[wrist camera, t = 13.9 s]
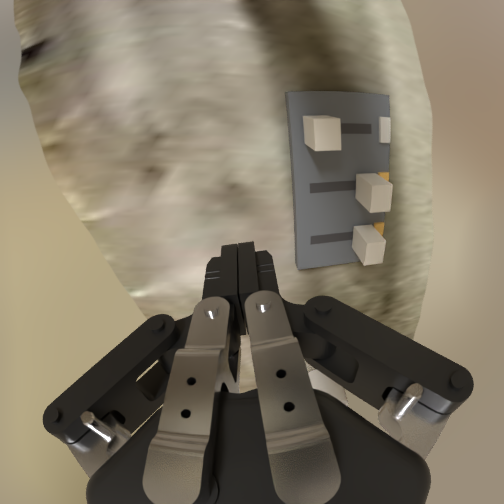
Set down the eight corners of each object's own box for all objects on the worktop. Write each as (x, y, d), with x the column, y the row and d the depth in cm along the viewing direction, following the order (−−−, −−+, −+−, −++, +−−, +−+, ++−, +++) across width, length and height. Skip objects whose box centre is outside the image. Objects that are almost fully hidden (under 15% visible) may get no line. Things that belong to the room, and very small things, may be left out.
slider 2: (353, 226, 38) (366, 243, 33) (371, 224, 38) (386, 241, 33) (351, 247, 40) (363, 265, 35) (369, 245, 40) (382, 262, 35)
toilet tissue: (345, 375, 64) (354, 406, 56) (307, 393, 68) (313, 423, 59) (328, 361, 59) (338, 395, 51) (287, 381, 63) (292, 414, 54)
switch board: (285, 92, 30) (288, 91, 28) (382, 94, 29) (390, 95, 27) (295, 262, 43) (298, 271, 41) (373, 252, 43) (379, 260, 41)
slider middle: (356, 173, 33) (372, 185, 29) (375, 173, 33) (392, 184, 29) (355, 198, 35) (370, 212, 31) (373, 197, 35) (390, 211, 31)
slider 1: (302, 115, 29) (313, 118, 25) (326, 115, 29) (340, 118, 25) (304, 143, 31) (315, 151, 27) (327, 142, 31) (341, 150, 27)
